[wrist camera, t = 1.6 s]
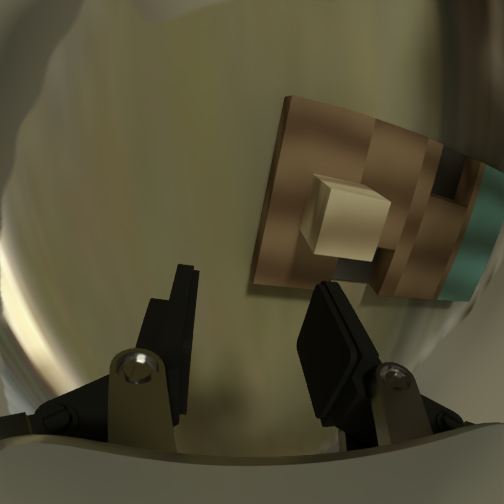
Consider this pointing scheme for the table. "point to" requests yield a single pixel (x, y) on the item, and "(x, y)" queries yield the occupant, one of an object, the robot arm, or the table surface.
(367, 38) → the table surface
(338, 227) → the birch block
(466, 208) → the trap board
